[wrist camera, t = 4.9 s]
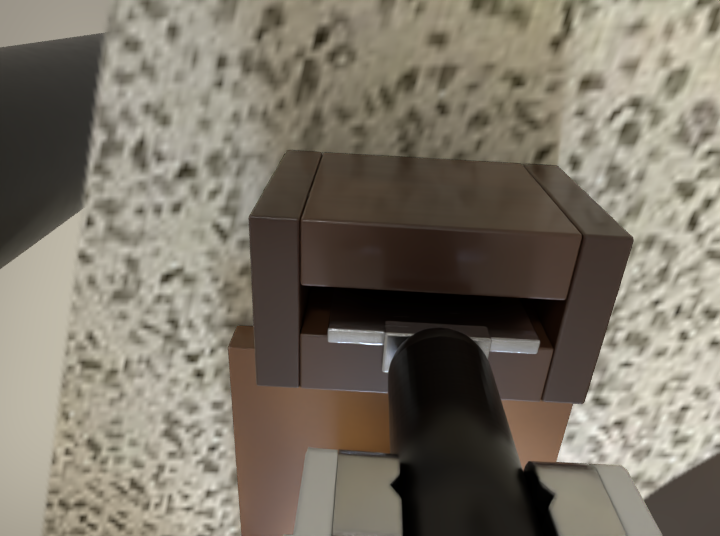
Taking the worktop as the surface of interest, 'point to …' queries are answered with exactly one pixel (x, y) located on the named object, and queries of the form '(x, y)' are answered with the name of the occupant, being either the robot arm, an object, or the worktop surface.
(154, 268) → the worktop surface
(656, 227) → the worktop surface
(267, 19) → the worktop surface
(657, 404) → the worktop surface
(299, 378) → the knife block
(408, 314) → the knife
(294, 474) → the board
